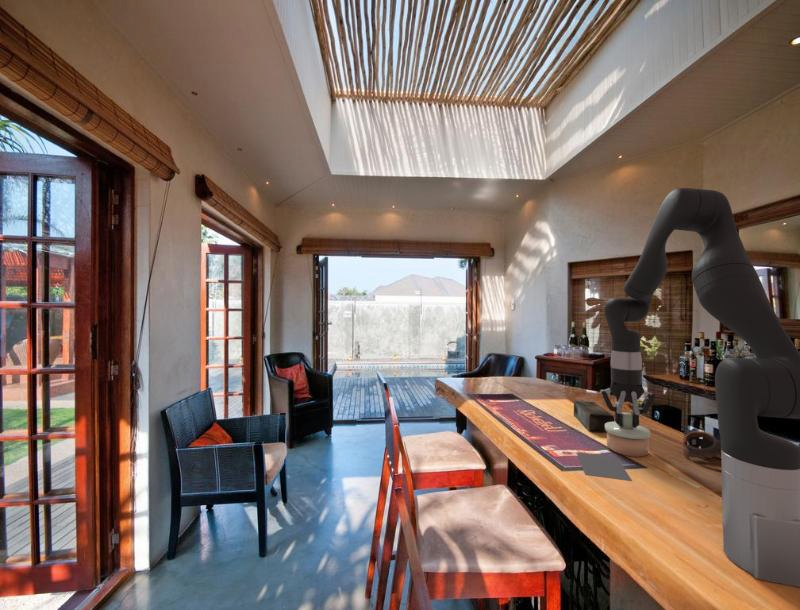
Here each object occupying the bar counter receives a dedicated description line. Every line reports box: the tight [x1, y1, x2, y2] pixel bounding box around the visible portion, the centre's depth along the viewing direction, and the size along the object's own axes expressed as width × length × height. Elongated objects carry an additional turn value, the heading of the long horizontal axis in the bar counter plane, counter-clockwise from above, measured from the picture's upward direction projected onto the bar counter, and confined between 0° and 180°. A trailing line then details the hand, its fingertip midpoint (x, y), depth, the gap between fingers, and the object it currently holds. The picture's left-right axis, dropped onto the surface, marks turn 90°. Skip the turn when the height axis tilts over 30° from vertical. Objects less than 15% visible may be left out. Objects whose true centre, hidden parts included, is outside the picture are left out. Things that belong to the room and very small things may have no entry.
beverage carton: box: [573, 399, 615, 434], centre depth 124 cm, size 8×19×7 cm, turn 168°
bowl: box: [606, 432, 649, 458], centre depth 99 cm, size 10×10×5 cm
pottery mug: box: [682, 429, 722, 459], centre depth 96 cm, size 12×10×8 cm
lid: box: [605, 411, 651, 439], centre depth 99 cm, size 11×11×5 cm
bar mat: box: [576, 451, 633, 482], centre depth 90 cm, size 14×10×1 cm
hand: (627, 426), depth 99 cm, fingers closed on lid, 3 cm apart
